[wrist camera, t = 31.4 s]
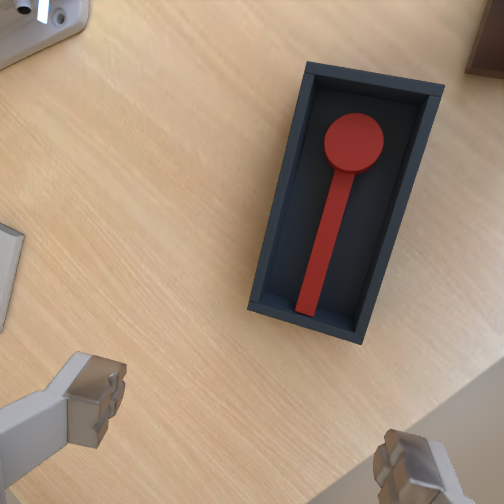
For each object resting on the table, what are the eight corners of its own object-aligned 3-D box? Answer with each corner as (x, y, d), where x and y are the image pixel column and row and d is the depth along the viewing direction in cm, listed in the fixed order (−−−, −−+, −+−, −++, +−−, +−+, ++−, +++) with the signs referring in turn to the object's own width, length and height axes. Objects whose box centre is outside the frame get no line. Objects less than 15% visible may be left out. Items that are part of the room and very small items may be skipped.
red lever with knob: (330, 319, 31) (330, 325, 29) (279, 304, 31) (276, 308, 29) (387, 127, 29) (391, 119, 27) (332, 115, 30) (332, 107, 28)
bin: (359, 326, 33) (361, 345, 29) (257, 296, 35) (246, 309, 31) (431, 99, 29) (445, 84, 25) (311, 77, 30) (306, 60, 26)
